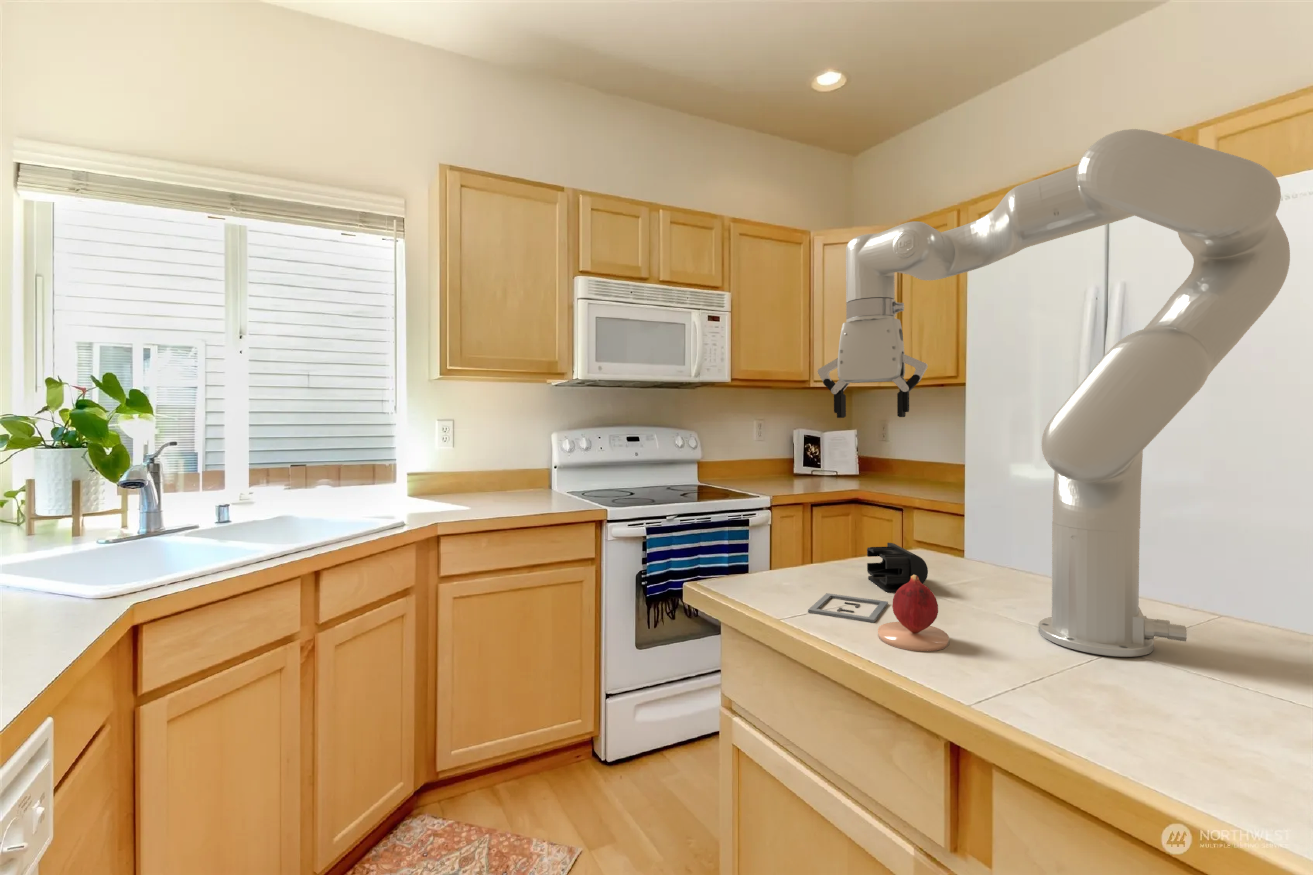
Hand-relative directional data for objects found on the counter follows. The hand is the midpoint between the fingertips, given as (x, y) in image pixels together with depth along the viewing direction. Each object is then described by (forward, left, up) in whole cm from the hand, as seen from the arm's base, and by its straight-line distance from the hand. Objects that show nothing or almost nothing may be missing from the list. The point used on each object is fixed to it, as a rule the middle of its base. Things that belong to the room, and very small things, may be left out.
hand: (870, 417), depth 101 cm
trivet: (-9, +16, -30) cm, 35 cm away
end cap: (-2, -10, -31) cm, 32 cm away
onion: (-9, +16, -30) cm, 35 cm away
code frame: (+2, +7, -30) cm, 31 cm away
